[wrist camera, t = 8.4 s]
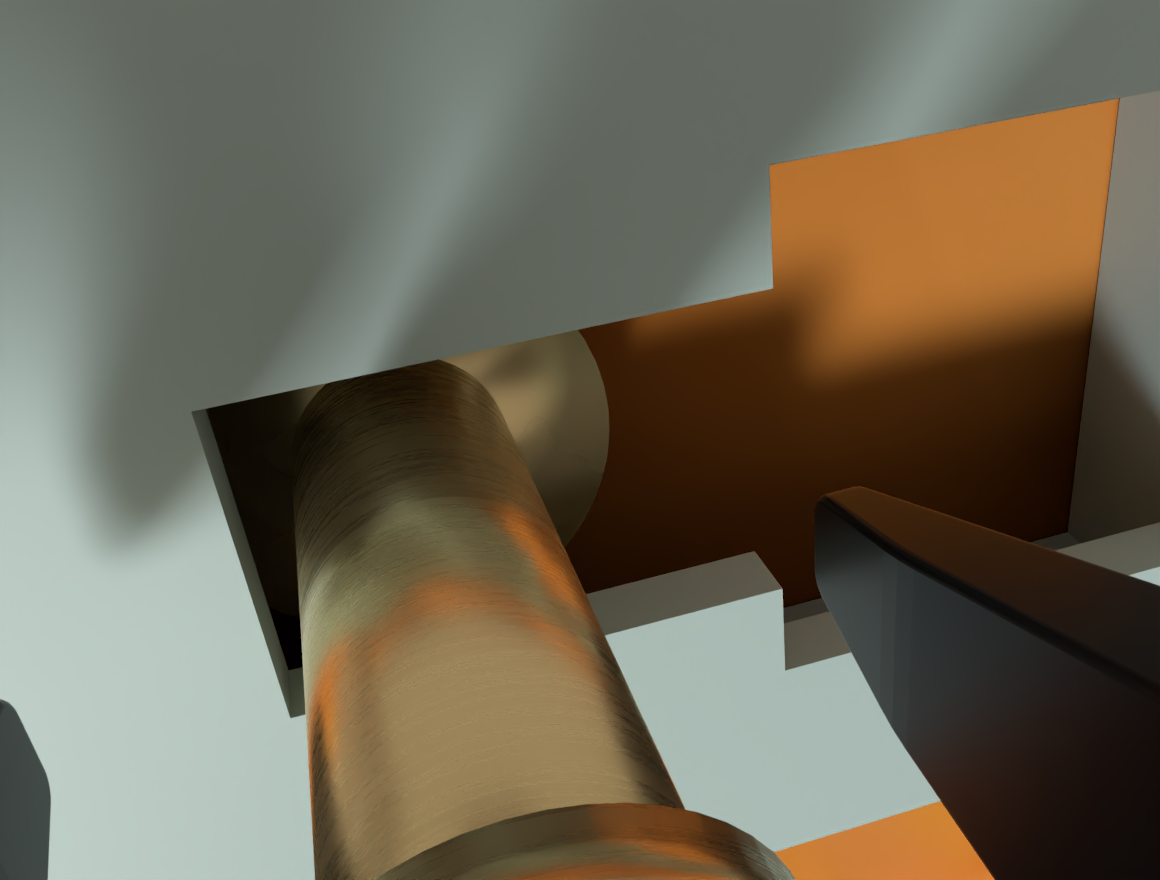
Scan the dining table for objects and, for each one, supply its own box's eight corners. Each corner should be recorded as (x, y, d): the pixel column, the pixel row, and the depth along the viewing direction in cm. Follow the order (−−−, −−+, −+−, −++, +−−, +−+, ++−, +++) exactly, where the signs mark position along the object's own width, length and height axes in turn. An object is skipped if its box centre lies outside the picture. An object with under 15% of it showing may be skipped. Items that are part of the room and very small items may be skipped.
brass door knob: (550, 172, 13) (1060, 669, 5) (593, 515, 15) (986, 1249, 7) (128, 248, 12) (-152, 1020, 4) (241, 599, 14) (219, 1547, 6)
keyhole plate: (1253, -270, 13) (1534, -313, 10) (1123, 574, 18) (1276, 696, 16) (-266, -78, 10) (-468, -62, 7) (144, 846, 16) (120, 1054, 13)
